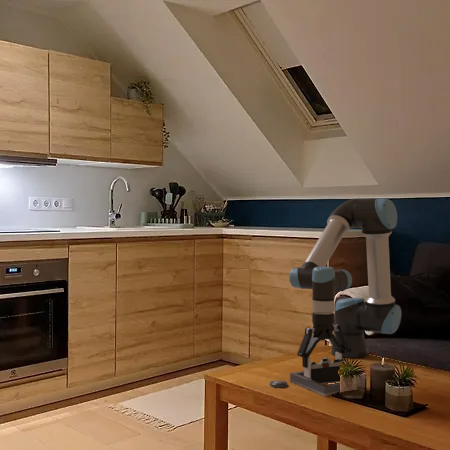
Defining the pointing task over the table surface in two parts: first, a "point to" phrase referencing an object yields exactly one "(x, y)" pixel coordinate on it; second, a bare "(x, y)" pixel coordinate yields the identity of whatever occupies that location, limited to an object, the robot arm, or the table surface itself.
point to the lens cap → (278, 384)
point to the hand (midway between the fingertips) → (323, 374)
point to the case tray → (313, 384)
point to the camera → (326, 371)
